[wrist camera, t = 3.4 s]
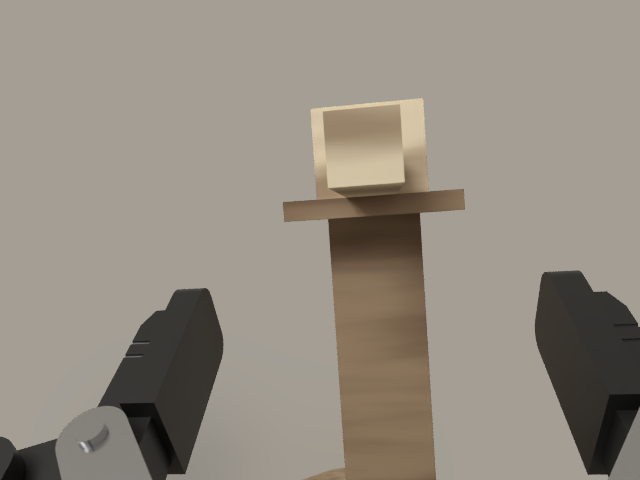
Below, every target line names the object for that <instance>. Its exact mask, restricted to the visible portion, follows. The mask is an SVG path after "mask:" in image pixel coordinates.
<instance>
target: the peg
mask: <svg viewBox="0 0 640 480" xmlns="http://www.w3.org/2000/svg"><path fill="white" fill-rule="evenodd" d="M311 122H312V136H313V151H314V164H315V180H316V194H317V200H321V199H335V198H348V197H362V196H376V195H389V194H403V193H416V192H429V191H428V190H429V188H428V172H427V155H426V139H425V122H424V105H423V98H420V99H410V100H399V101H389V102H378V103H368V104H357V105H347V106H336V107H326V108H316V109H311Z"/></svg>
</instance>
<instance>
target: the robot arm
mask: <svg viewBox="0 0 640 480" xmlns="http://www.w3.org/2000/svg"><path fill="white" fill-rule="evenodd" d="M535 335H536V341H537V346H538V349H539V352H540V354H541V357H542V359H543V362H544V364H545V367H546V370H547V372H548V374H549V377H550V380H551V382H552V385H553V387H554V390H555V392H556V395H557V397H558V399H559V402H560V405H561V408H562V410H563V412H564V415H565V418H566V420H567V422H568V425H569V428H570V430H571V433H572V435H573V438H574V440H575V443H576V445H577V448H578V451H579V453H580V456H581V458H582V461H583V463H584V466H585V468H586V471H587V473H588V475H590V474H608V477H609V479H608V480H640V327H638V323H637V322H636V320H635V318H634V317H633V315H632V314H631V312H630V311H629V309H628V308H627V306H626V305H624V304H623V303H621V302H620V301H619V300H617V299H616V298H615V297H613V296H612V295H611V294H609V293H608V292H593V290H592V289H591V287H590V285H589V284H588V282H587V280H586V279H585V277H584V275H583V274H582V273H581V272H580V271H558V272H544V274H543V275H542V278H541V284H540V291H539V298H538V305H537V312H536V319H535ZM222 355H223V336H222V331H221V328H220V325H219V321H218V318H217V315H216V311H215V308H214V304H213V301H212V298H211V295H210V292H209V291H208V289H206V288H202V289H182V290H176V291H175V292H174V294H173V296H172V298H171V300H170V302H169V304H168V306H167V308H166V310H163V311H156V312H155V313H154V314H153V315H152V316H151V317H149V318H148V319H147V320H146V321H145V322H144V323H143V324H142V325H141V326H140V328H139V330H138V332H137V334H136V336H135V338H134V340H133V344H132V345H130V347H129V349H128V351H127V353H126V357H125V358H123V360H122V362H121V364H120V366H119V368H118V369H117V371H116V373H115V375H114V377H113V379H112V381H111V382H110V384H109V386H108V388H107V390H106V392H105V394H104V396H103V398H102V399H101V401H100V403H99V405H98V407H96V408H93V409H90V410H88V411H86V412H84V413H82V414H80V415H79V416H77V417H76V418H74V419H73V420H72V421H71V422H70V423H69V424H68V425H67V426H66V427H65V428H64V429H63V431H62V432H61V433H60V435H59V437H58V439H55V440H52V441H48V442H45V443H41V444H38V445H35V446H31V447H28V448H24V449H21V450H18V451H17V450H16V448H15V447H14V446H13V444H12V443H11V442H10V441H9V440H8V439H6V438H4V437H0V480H166V477H167V474H185V473H186V470H187V467H188V463H189V460H190V457H191V454H192V450H193V448H194V444H195V441H196V438H197V435H198V432H199V428H200V425H201V422H202V419H203V416H204V413H205V410H206V407H207V403H208V400H209V397H210V393H211V390H212V388H213V384H214V381H215V378H216V375H217V372H218V369H219V365H220V362H221V359H222Z"/></svg>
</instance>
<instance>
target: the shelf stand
mask: <svg viewBox="0 0 640 480" xmlns="http://www.w3.org/2000/svg"><path fill="white" fill-rule="evenodd" d="M283 209H284V221H285V222H290V221H306V220H321V219H328V222H329V236H330V252H331V265H332V266H331V267H332V279H333V280H332V281H333V296H334V311H335V325H336V339H337V355H338V370H339V384H340V399H341V413H342V428H343V443H344V458H345V473H346V480H436V474H435V456H434V439H433V423H432V409H431V408H432V407H431V390H430V374H429V357H428V341H427V326H426V325H427V324H426V309H425V292H424V275H423V259H422V243H421V226H420V213H423V212H437V211H451V210H464V209H465V203H464V189H459V190H458V189H457V190H444V191H430V192H416V193H403V194H389V195H376V196H362V197H348V198H335V199H321V200H309V201H294V202H283Z"/></svg>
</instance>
